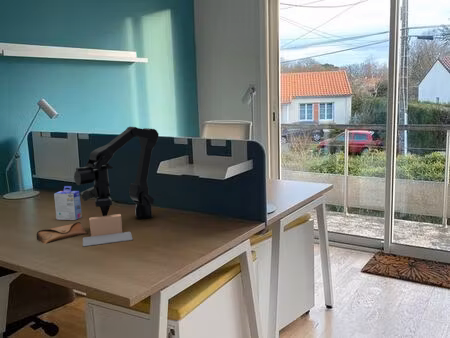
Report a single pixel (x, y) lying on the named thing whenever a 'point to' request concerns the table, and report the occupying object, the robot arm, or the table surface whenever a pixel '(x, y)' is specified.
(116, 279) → the table surface
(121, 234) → the mat
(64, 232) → the sunglasses case
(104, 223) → the beige rectangular block
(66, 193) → the ink cartridge box
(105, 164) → the robot arm
